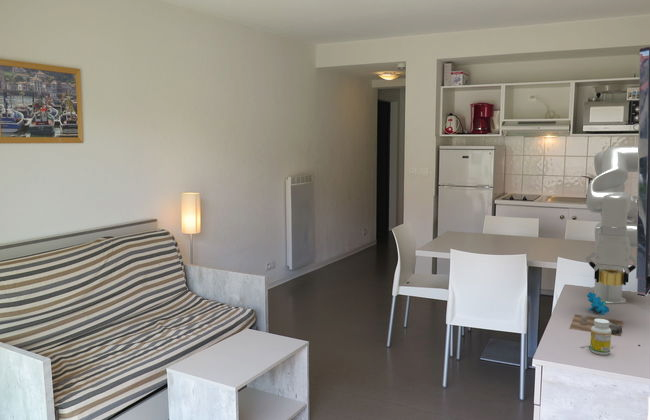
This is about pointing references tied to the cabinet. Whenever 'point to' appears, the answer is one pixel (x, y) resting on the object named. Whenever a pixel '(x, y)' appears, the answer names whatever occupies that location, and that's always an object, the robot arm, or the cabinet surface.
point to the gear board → (587, 323)
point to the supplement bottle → (600, 337)
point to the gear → (597, 303)
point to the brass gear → (611, 277)
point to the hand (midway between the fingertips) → (611, 282)
